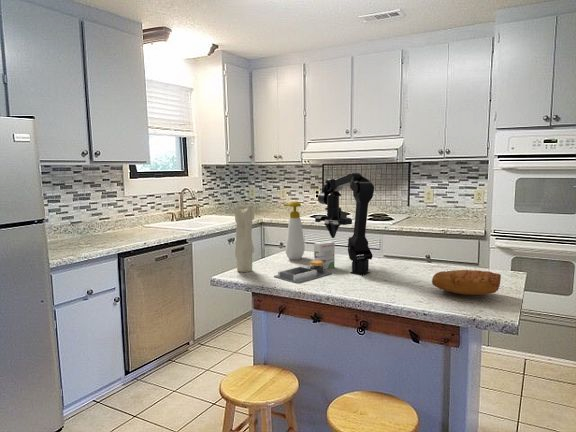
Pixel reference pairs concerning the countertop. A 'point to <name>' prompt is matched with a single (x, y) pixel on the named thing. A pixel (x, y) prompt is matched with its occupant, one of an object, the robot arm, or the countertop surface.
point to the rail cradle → (302, 274)
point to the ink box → (325, 253)
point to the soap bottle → (294, 234)
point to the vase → (244, 237)
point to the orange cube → (316, 263)
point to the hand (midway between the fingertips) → (333, 237)
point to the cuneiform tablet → (467, 281)
